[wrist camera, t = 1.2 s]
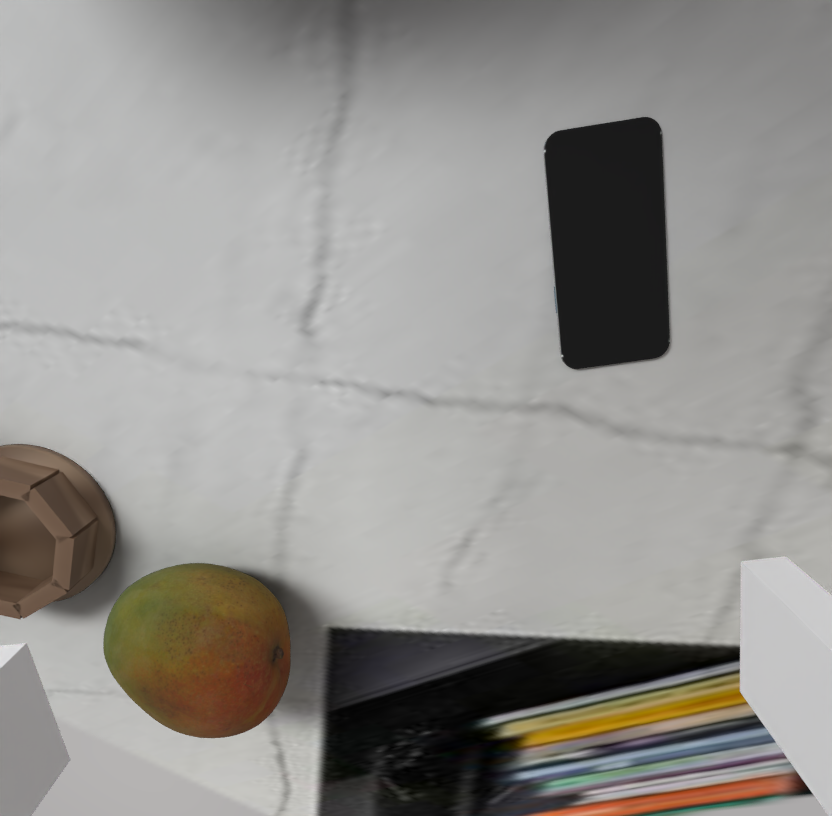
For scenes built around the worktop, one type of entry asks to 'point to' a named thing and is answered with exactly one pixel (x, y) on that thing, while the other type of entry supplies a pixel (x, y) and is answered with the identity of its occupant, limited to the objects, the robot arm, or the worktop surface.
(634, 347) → the smartphone
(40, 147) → the worktop surface
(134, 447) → the worktop surface
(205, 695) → the fruit
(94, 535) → the bowl
